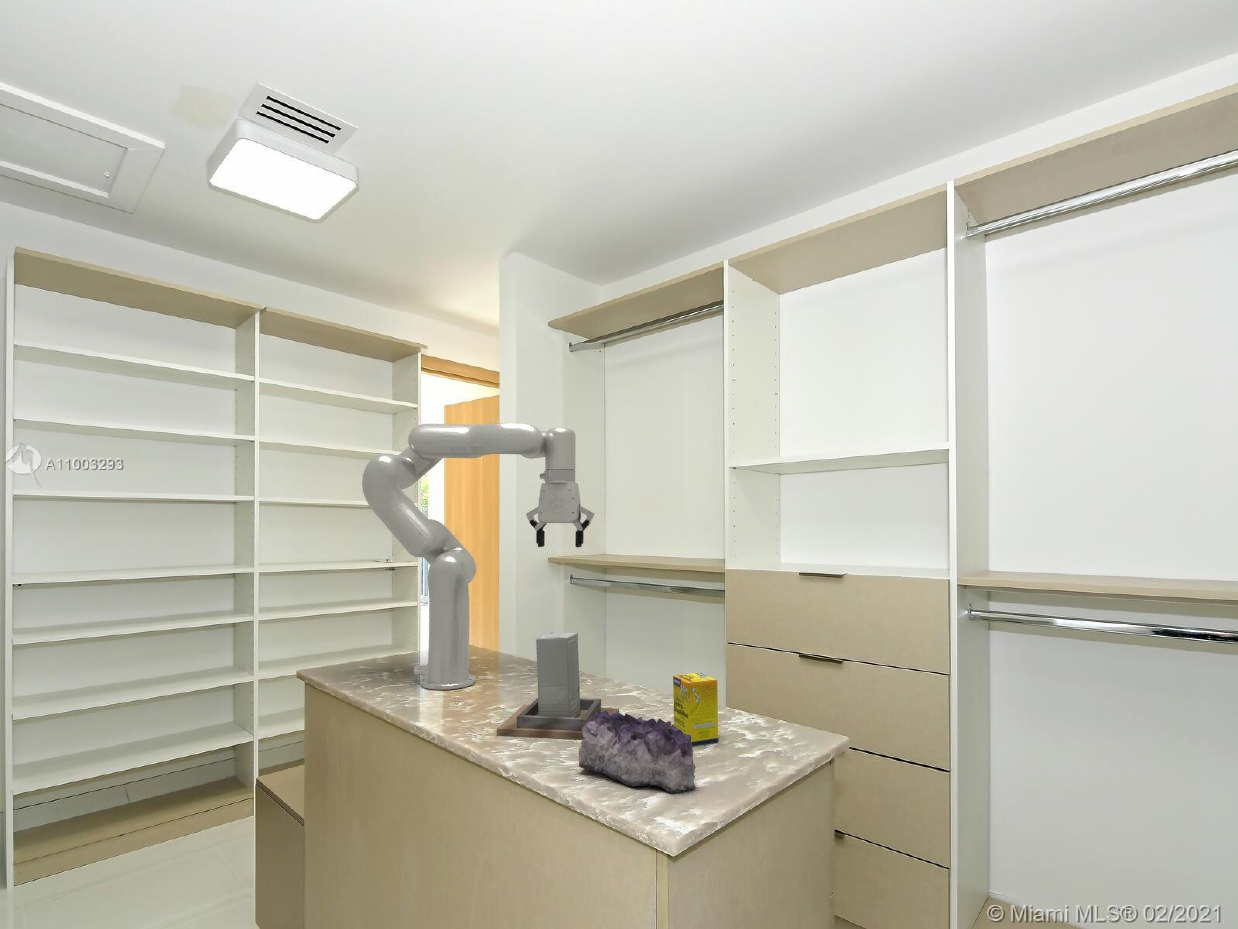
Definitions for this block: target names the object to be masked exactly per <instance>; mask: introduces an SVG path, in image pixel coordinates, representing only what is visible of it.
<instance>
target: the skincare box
mask: <svg viewBox="0 0 1238 929" xmlns="http://www.w3.org/2000/svg"><path fill="white" fill-rule="evenodd" d="M578 634H579V633H578V631H577V632H548V633H546V634H542V635H540V636H539V637H537V638H536V639H535V641H536V642H535V644H536V645H535V646H536V668H537V669H536V674H537V676H536V678H537V698H538V713H539V716H550V717H573V718H576V717H577V716H578V714H579V713H580V712H581V711H580V698H581V694H580V693H581V691H580V690H581V687H580V666H579V663H580V662H579V661H580V660H579V635H578Z"/></svg>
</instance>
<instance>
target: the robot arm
mask: <svg viewBox="0 0 1238 929" xmlns="http://www.w3.org/2000/svg"><path fill="white" fill-rule="evenodd" d="M407 439H408V440H407V442H408V446H407V447H406V448H405V449H404V450H403V451H402V452H400V453H399V454H398V455H397V454H393V453H380V454H377V455H375V456H374V457H372V458H371V459H370V460H369V461H368V463H367V465H366V466H365V468H364V471H363V473H362V480H361V488H362V492H363V496H364V498H365V501H366V502H367V504H368V506H369V507H370V509H371V510H372V512H374V514H375V515H376V516H377V517H378V519H379V520H380V521H381V522H382V523H383V524H384V525H385V526H386V529H388V530H389V531H390V533H391V534H392V535H393V536H394V538H395V539H396V540H397V541H398V542H399V543H400V545H401V546H403V548H404V549H405V551H406V552H408V554H409V555H411V556H412V557H414V558H415V557H416V558H423V559H424V560H425V561H426V562H427V564H429V567H428V571H427V588H428V590H427V591H428V604H429V605H428V606H429V607H428V613H429V615H428V620H429V621H428V626H429V627H428V660H427V662H428V664H426V665H420V664H419V665H417V664H416V665H414V667H413V674H414V676H415V675H416V676H417V675H418V676H420V675H422V676H423V679H421V683H420V684H421V686H422V688H425V689H429V690H437V691H439V690H440V691H441V690H446V691H447V690H456V689H462V688H466V687H469V686H472V685H474V683H476V676H474V675H473V674H470V672H469V671H470V589H469V584H470V583H471V582H472V581H473V580H474V578H475V577H476V575H477V574H476V573H477V564H476V560H475V558H474V557H473V555H472V554H471V553H470V552H469V551H468V550H467V549H466V548H465V547H464V545H463V544H462V543H461V542H460V540H458V538H457V537H456V536H455V535H454V534H453V533H452V532H451V531H450V530H449V528H448V527H447V526H446V525H444V523H442V522H440V521H439V520H435V519H432V518H431V519H430V518H428V517H427V516H426V515H425V514H424V513H423V512H422V511H421V510H420V509H419V508H418V506H416V504H415V503H414V502H413V501H412V499H411V498H410V497H408V495H406V494H405V493H404V491H403V490H405V489H407V488H409V487H412V486H413V485H414V484H415V483H416V482H418V481H419V480H420V479H421V478H422V477H423V476H425V475H426V474H427V473H428V472H429V471H431V469H433V468H434V467H435V466H437V464H439V463H440V461H442V460H443V459H478V458H481V457H484V456H488V455H520V456H522V457H524V458H526V459H528V460H529V459H530V460H533V459H541V458H545V460H544V461H545V463H544V466H545V467H544V469H545V470H544V472H543V473H540V474H539V479H540V480H543V481H544V482H543V483H542V482H541V485H540V491H539V498H538V505H537V507H535V508H534V509H532V510H530V511H527V513H525V515H526V518H527V520H528V521H529V524H530V526H532V528H534V530H535V531H536V534H535V539H536V541H535V542H536V545H537V547H538V548H543V547H545V542H546V541H545V538H546V537H545V535H546V533H545V530H544V528H545V527H546V526H547V525H548V524H573V526H574V527H575V528H576V531H575V548H582V545H583V544H584V539H585V538H584V531H585V530H586V529H587V528H588V526H590V525H591V522H592V520H593V518H594V517H595V512H593V511H592V510H589V509H588V508H585V507H584V506H582V504H581V495H580V489H579V484H578V483H577V482H576V443H577V442H576V432H575V431H574V430H573V429H571V428H567V427H553V428H550V429H548V430H546V431H545V430H540V428H538V427H536V426H535V425H532V424H529V423H510V422H509V423H499V422H498V423H477V424H473V423H472V424H470V423H469V424H465V423H464V424H463V423H462V424H461V423H460V424H456V423H455V424H453V423H421V424H418V425H415V426H414V427H413V428H412V429H411V430H410V431H409V435H408V438H407ZM582 514H584V515H585V516H586V517H585V520H584V521H583V522H582V521H581V520H582ZM536 515H537V520H536V519H535V516H536Z"/></svg>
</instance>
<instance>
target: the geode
mask: <svg viewBox="0 0 1238 929" xmlns="http://www.w3.org/2000/svg"><path fill="white" fill-rule="evenodd" d="M582 734H583V737H584V739H583V740H580V741H581V742H580V747H578V767H580V769H581V768H582V769H583V770H586V771H594V772H597V773H604V774H605V775H607V776H608V777H609V778H611V779H613V780H617V781H619V782H621V783H622V784H624V785H625V786H629V787H631V788H633V787H641V786H642V787H643V786H653V787H655V786H656V787H660V788H662V789H663V790H665V791H666V792H667V793H670V794H671V795H674V794H675V795H676V794H681V793H682V794H683V793H689V792H692V791H694V790H695V789H696V784H695V778H696V776H695V772H696V764H694V749H693V747H692V742H691V735H689V734H688V735H685V736H684V734H683V732H682V731H681V730H680V729H678V728H677V727H676V726H674V723H673V724H672V721H671V720H669V721H668V720H667V721H664V720H663V719H661V718H658V720H657V721H656V719H655V718H650V719H648V720H643V717H642V716H640V717H638V718H636V717H634V716H632V715H630V714H628V713H627V712H625V715H624V714H622V713H621V712H620V711H619V712H618V711H615V712H613V713H611V714H610V715H609V714H608V712H607V711H603V712H599V711H598V712H596V715H595V716H594V721H591V722H588V723H587V724H586V725H585V726H584V727H583V728H582Z"/></svg>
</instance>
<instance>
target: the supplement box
mask: <svg viewBox="0 0 1238 929" xmlns="http://www.w3.org/2000/svg"><path fill="white" fill-rule="evenodd" d="M672 678H673V679H672V682H673V683H672V685H673V686H672V687H673V689H672V690H673V692H672V693H673V694H672V695H673V696H672V697H673V725H674V726H676V727H677V728H678V729H680V730H681V731H682V732H683V734H684V736H685V735H688V734H689V735H691V742H692V748H693V747H697V746H703V745H704V746H705V745H710V744H711V745H712V744H716V743H719V715H718V714H719V713H718V711H719V709H718V708H719V706H718V705H719V704H718V699H719V698H718V679H717V678H713V677H710V676H708V675H706V674H704V673H702V672H694V673H693V672H691V673H684V674H683V673H682V674H675V675H673V676H672Z"/></svg>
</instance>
